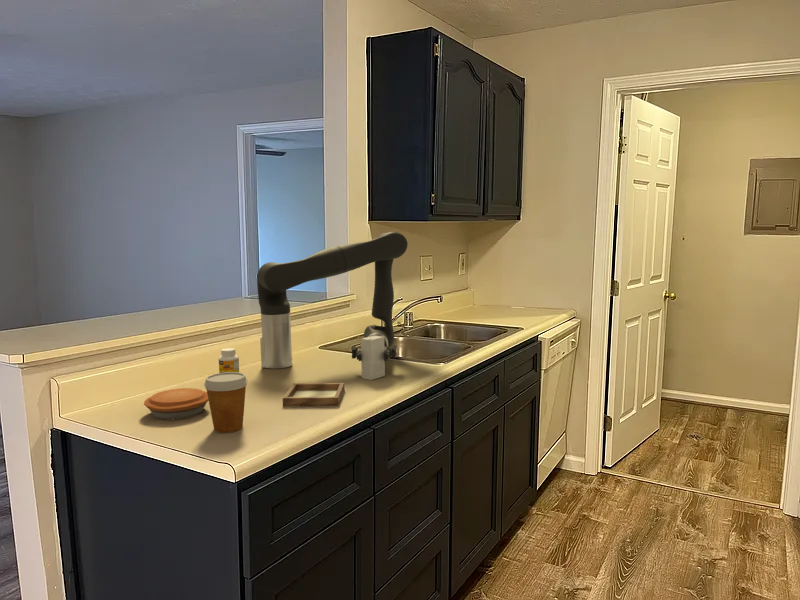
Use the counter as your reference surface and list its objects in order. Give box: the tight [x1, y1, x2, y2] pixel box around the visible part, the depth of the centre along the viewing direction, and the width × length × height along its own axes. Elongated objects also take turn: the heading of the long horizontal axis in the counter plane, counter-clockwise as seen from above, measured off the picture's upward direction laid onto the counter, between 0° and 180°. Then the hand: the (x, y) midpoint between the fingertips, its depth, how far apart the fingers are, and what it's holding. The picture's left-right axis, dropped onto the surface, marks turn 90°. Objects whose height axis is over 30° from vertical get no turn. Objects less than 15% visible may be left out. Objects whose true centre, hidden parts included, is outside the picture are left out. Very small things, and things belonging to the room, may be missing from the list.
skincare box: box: [360, 336, 386, 381], centre depth 183 cm, size 6×4×12 cm
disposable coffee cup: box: [203, 371, 249, 434], centre depth 140 cm, size 10×10×12 cm
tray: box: [282, 382, 345, 408], centre depth 163 cm, size 14×14×2 cm
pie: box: [143, 387, 209, 421], centre depth 153 cm, size 16×16×5 cm
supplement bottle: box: [218, 347, 240, 373], centre depth 178 cm, size 6×6×10 cm
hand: (372, 357), depth 180 cm, fingers closed on skincare box, 7 cm apart
